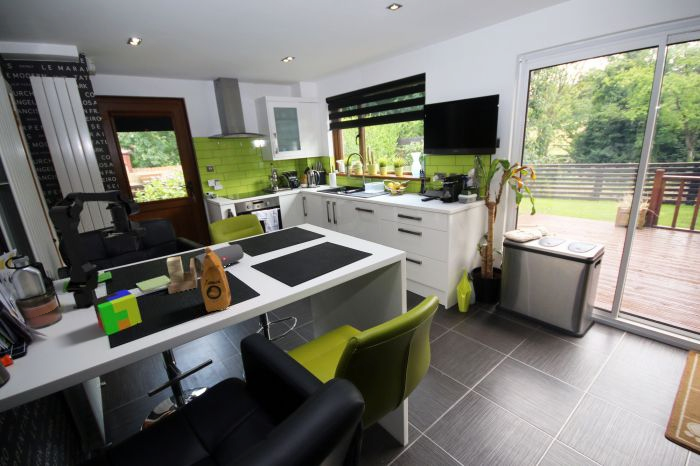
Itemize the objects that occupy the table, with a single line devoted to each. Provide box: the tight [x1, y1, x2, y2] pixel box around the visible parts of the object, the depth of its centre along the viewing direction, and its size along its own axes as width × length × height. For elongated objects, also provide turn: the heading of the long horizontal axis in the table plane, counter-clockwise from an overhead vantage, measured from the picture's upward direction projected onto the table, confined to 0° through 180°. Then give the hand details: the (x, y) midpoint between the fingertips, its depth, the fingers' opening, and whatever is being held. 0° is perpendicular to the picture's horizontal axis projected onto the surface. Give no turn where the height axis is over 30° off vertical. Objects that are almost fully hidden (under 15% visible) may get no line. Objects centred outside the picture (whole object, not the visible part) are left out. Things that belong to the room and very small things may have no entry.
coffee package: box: [200, 246, 232, 313], centre depth 118 cm, size 10×12×22 cm
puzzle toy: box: [92, 289, 143, 336], centre depth 110 cm, size 10×10×10 cm
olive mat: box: [135, 274, 170, 293], centre depth 144 cm, size 12×12×1 cm
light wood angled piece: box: [166, 257, 198, 295], centre depth 139 cm, size 11×13×10 cm
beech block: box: [166, 255, 185, 284], centre depth 138 cm, size 5×5×11 cm
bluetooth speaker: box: [193, 243, 245, 274], centre depth 159 cm, size 23×9×10 cm, turn 143°
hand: (127, 250), depth 148 cm, fingers open, 9 cm apart
